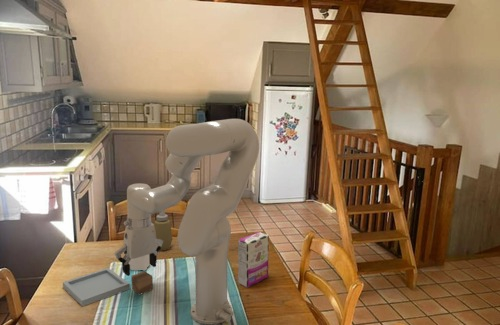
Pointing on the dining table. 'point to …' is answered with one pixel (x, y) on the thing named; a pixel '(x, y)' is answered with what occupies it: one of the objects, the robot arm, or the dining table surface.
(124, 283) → the tray
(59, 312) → the dining table surface
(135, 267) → the medicine bottle
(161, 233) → the squeeze bottle
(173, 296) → the dining table surface
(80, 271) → the dining table surface
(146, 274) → the cube
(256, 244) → the candy bar box
